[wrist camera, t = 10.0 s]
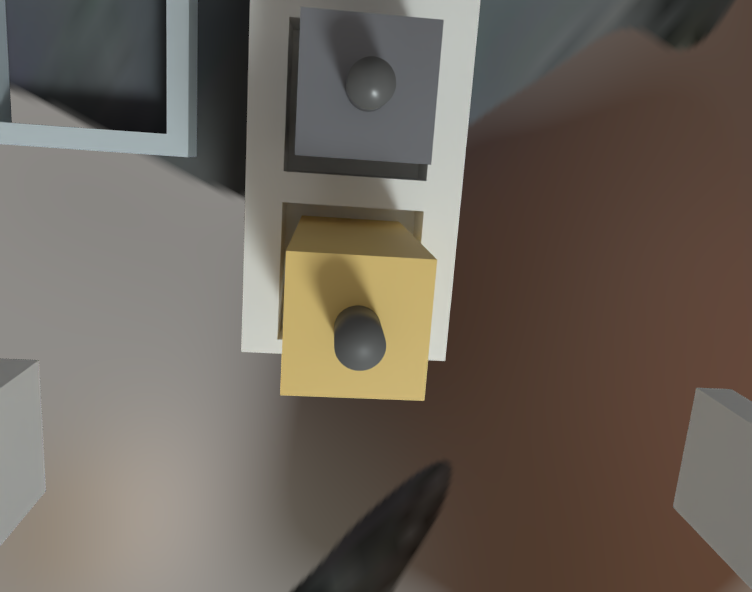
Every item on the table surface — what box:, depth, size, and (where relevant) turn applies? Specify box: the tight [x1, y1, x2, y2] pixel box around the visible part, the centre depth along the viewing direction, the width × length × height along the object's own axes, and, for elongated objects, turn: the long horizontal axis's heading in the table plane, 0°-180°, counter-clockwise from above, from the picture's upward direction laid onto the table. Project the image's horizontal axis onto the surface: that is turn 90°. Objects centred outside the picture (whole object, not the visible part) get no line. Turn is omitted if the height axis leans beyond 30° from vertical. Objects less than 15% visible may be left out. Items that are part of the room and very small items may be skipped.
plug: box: [280, 215, 437, 401], centre depth 26 cm, size 5×5×14 cm
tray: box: [0, 0, 198, 157], centre depth 30 cm, size 10×10×2 cm
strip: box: [241, 0, 480, 361], centre depth 26 cm, size 24×10×12 cm, turn 176°
